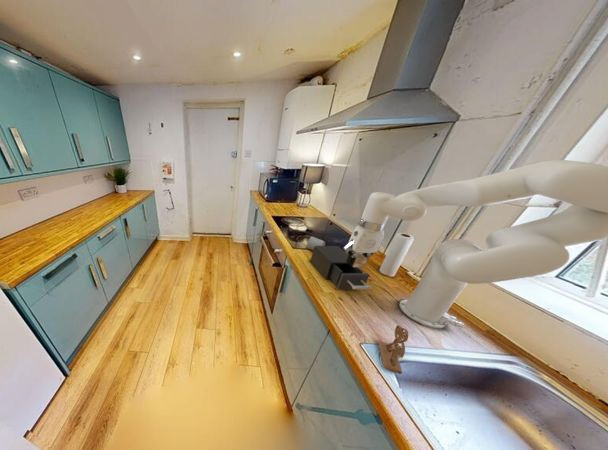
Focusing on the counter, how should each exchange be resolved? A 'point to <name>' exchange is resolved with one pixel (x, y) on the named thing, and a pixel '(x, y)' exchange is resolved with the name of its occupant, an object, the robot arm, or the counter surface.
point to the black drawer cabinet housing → (327, 258)
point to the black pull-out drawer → (348, 277)
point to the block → (359, 260)
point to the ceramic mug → (314, 243)
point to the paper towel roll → (396, 254)
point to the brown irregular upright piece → (394, 350)
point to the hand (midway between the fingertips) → (355, 263)
